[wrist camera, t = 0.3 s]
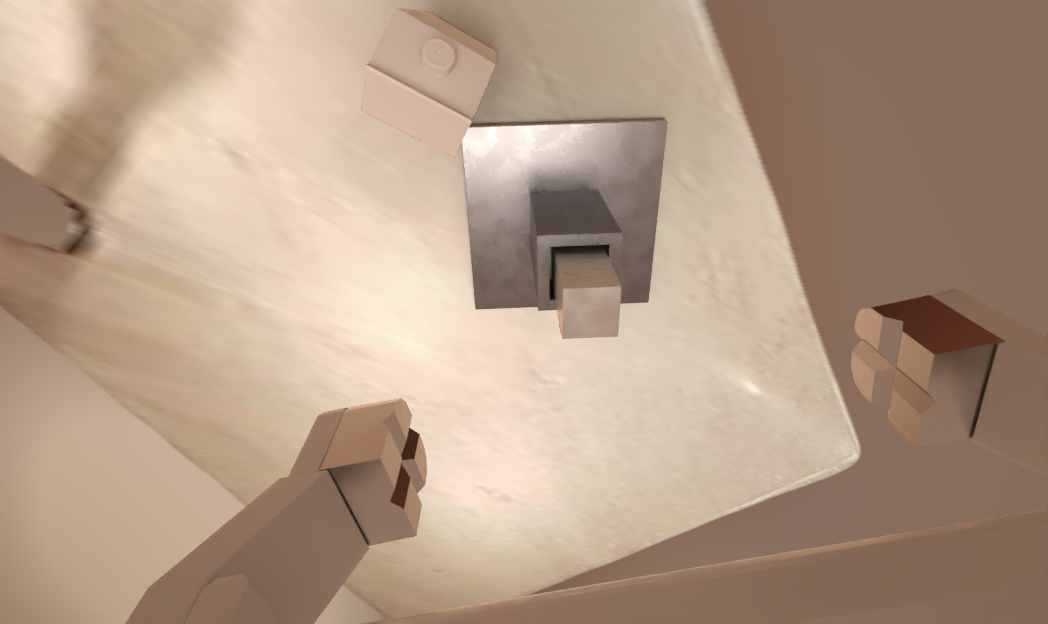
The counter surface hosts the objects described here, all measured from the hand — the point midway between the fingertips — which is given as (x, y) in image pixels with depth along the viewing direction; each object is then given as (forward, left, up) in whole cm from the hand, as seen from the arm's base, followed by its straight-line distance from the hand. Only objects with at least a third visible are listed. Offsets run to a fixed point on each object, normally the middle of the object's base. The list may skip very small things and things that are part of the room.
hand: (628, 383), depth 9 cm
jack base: (+13, +4, -47) cm, 49 cm away
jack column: (+13, +4, -44) cm, 46 cm away
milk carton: (-2, -7, -47) cm, 47 cm away
